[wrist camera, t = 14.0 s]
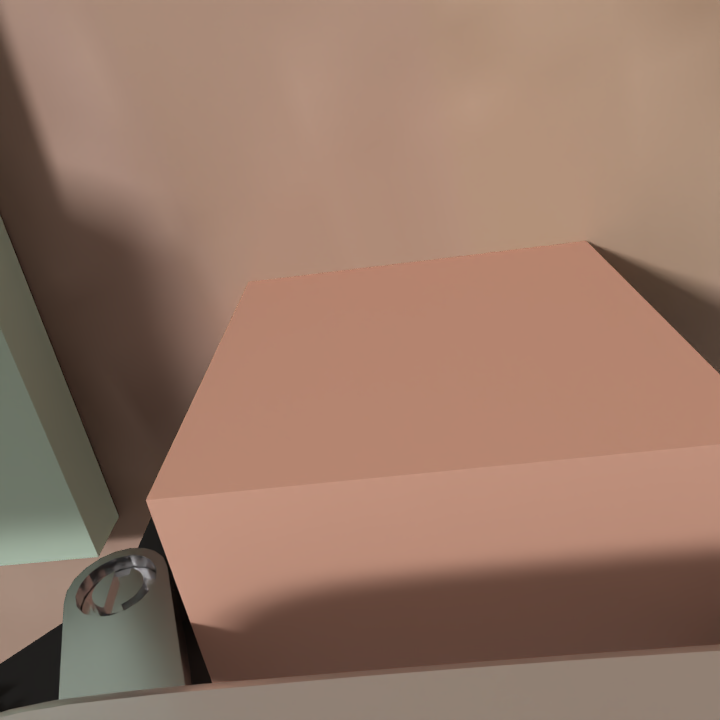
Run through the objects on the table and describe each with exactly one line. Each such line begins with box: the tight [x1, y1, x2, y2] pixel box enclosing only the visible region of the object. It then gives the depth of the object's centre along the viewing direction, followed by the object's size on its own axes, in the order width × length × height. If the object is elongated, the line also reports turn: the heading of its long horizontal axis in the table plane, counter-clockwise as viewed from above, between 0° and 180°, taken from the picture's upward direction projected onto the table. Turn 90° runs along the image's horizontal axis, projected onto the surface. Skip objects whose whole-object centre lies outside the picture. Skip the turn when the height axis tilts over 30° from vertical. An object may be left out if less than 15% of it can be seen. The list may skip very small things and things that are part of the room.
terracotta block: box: [146, 241, 720, 683], centre depth 10 cm, size 6×6×6 cm
